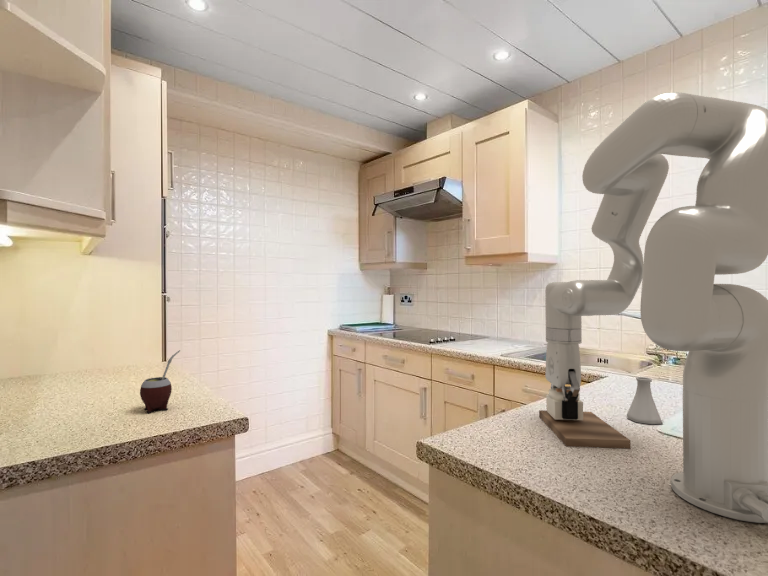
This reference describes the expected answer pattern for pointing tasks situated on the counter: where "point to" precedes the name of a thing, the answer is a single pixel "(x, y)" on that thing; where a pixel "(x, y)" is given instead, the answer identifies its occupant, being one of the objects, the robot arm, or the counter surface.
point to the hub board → (586, 432)
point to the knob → (560, 404)
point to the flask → (644, 404)
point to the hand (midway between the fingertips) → (563, 413)
